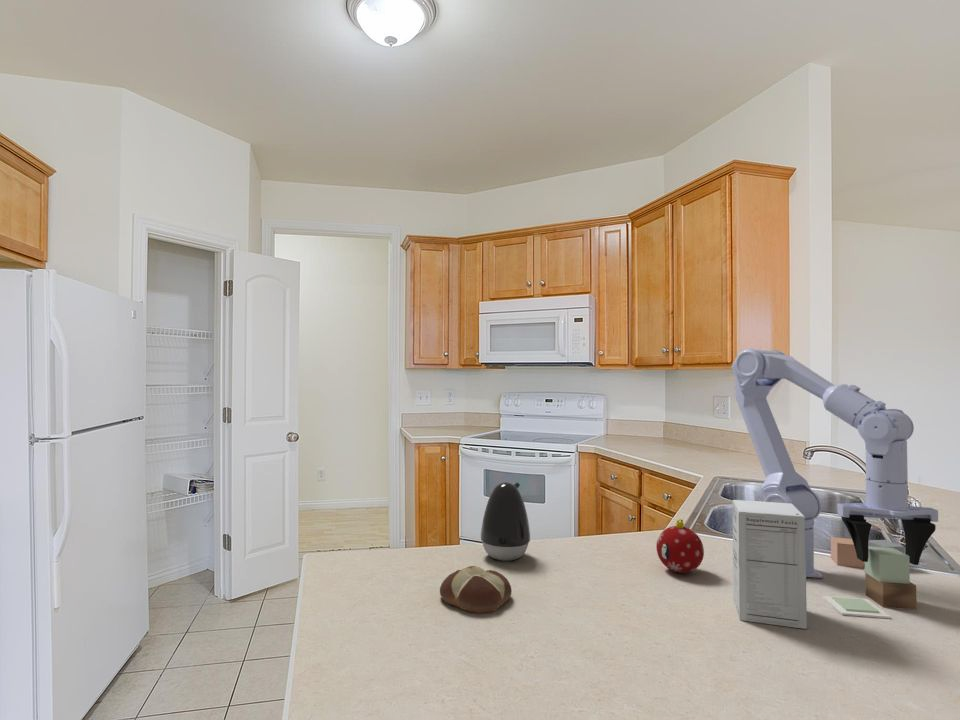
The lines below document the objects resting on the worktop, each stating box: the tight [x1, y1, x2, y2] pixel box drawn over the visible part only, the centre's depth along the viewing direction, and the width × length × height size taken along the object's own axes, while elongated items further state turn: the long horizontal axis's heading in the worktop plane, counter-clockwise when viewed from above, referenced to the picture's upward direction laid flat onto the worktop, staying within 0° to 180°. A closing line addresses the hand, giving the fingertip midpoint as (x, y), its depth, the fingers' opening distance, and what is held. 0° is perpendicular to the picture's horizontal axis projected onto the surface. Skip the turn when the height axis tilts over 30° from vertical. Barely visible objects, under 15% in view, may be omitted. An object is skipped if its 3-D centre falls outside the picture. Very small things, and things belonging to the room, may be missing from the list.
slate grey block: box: [868, 539, 905, 554], centre depth 110 cm, size 4×4×4 cm
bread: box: [439, 565, 512, 614], centre depth 91 cm, size 11×11×5 cm
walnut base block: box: [864, 572, 917, 610], centre depth 91 cm, size 5×5×4 cm
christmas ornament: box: [656, 518, 705, 574], centre depth 105 cm, size 9×9×10 cm
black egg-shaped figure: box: [480, 482, 531, 562], centre depth 112 cm, size 10×10×15 cm
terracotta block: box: [830, 536, 865, 569], centre depth 111 cm, size 4×4×4 cm
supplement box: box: [731, 499, 808, 630], centre depth 87 cm, size 10×9×17 cm
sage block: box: [864, 546, 911, 584], centre depth 92 cm, size 4×4×4 cm
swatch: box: [820, 595, 892, 620], centre depth 89 cm, size 7×7×1 cm
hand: (887, 561), depth 92 cm, fingers open, 7 cm apart
